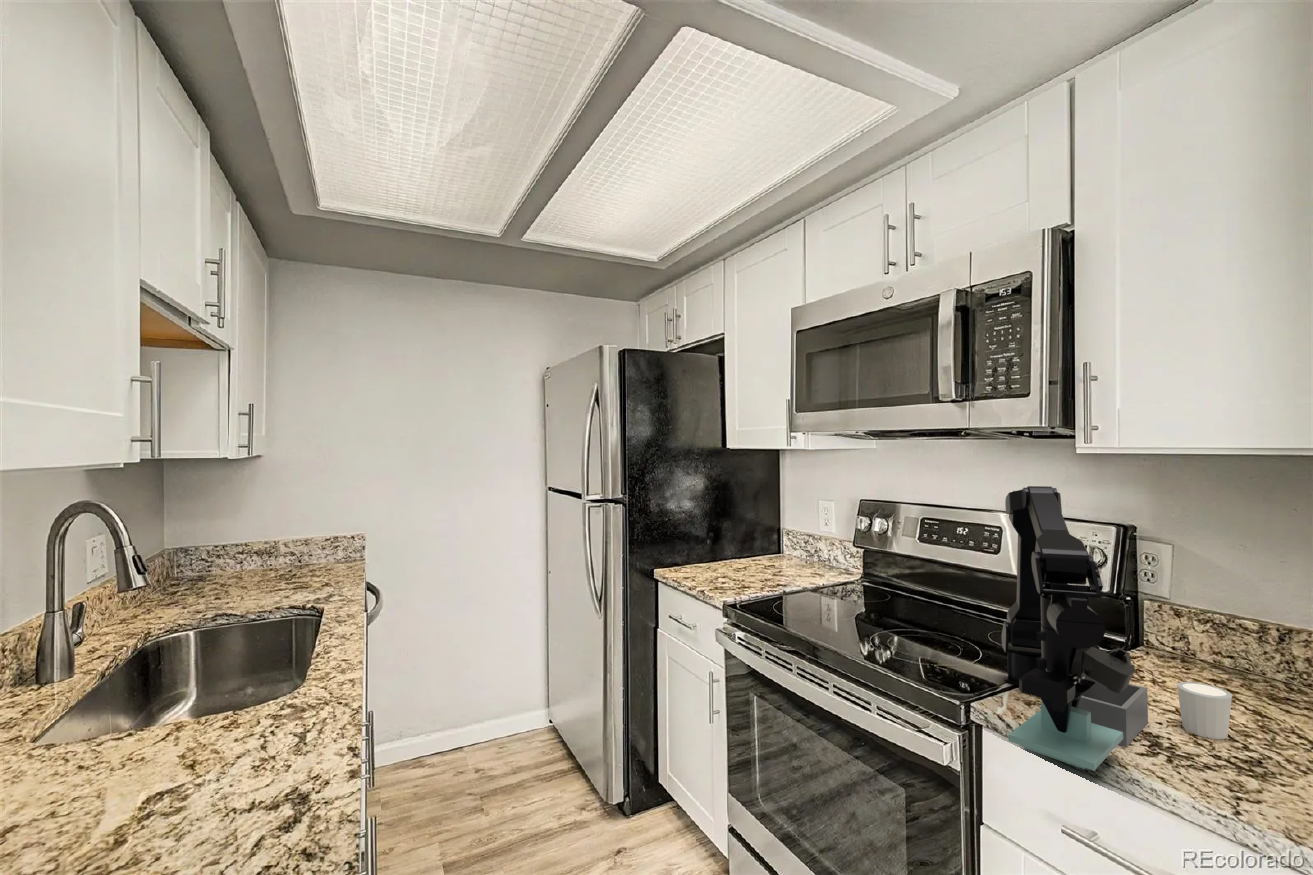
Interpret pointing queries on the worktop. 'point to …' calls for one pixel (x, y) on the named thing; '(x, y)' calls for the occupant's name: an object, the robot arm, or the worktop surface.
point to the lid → (1067, 738)
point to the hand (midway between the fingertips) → (1064, 729)
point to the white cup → (1204, 709)
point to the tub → (1117, 708)
